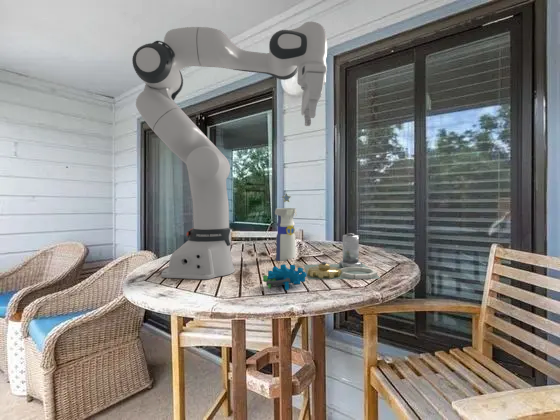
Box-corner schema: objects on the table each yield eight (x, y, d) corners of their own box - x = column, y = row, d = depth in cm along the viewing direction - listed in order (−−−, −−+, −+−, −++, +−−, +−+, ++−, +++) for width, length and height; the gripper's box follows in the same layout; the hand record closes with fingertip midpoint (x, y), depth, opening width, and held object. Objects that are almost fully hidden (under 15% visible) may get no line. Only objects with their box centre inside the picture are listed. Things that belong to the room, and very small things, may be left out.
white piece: (302, 260, 123) (301, 193, 122) (282, 262, 119) (281, 193, 118) (290, 256, 130) (289, 193, 129) (271, 259, 126) (270, 193, 125)
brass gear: (308, 278, 91) (308, 265, 91) (306, 270, 101) (306, 259, 101) (343, 278, 91) (343, 265, 91) (337, 270, 101) (337, 258, 101)
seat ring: (343, 278, 91) (343, 275, 91) (337, 270, 101) (337, 267, 101) (380, 278, 91) (380, 274, 91) (370, 269, 101) (370, 266, 101)
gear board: (308, 283, 91) (308, 279, 91) (303, 268, 110) (303, 264, 110) (381, 282, 91) (381, 278, 91) (364, 267, 110) (364, 263, 110)
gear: (309, 280, 88) (302, 259, 80) (310, 301, 84) (303, 281, 76) (268, 285, 89) (258, 265, 82) (267, 305, 85) (257, 286, 78)
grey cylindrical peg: (341, 269, 102) (341, 235, 102) (337, 264, 109) (337, 232, 109) (364, 269, 102) (364, 235, 102) (359, 264, 109) (359, 232, 109)
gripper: (298, 89, 113) (296, 129, 113) (305, 62, 93) (303, 111, 93) (316, 90, 114) (314, 130, 113) (328, 63, 93) (325, 112, 93)
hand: (309, 121), depth 103 cm, fingers open, 8 cm apart
